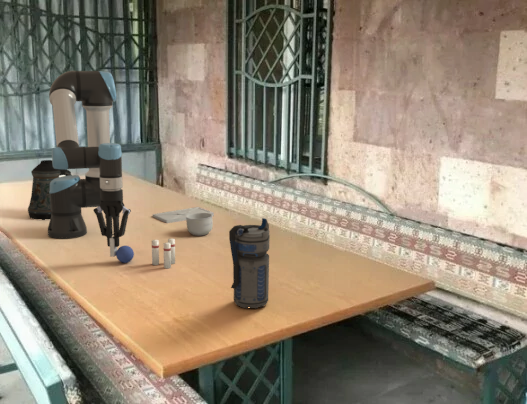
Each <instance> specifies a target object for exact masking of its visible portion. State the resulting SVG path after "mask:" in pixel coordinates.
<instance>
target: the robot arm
mask: <svg viewBox="0 0 527 404" xmlns="http://www.w3.org/2000/svg"><path fill="white" fill-rule="evenodd" d="M116 90H117V89H116V85H115V80H114V77H113V75H112V73H111V72H109V71H103V70H69V71H66V72H63V73H61V74H60V75H59V76H57V77H56V79H54V81H53V82H52V84H51V86H50V88H49V94H48V95H49V96H48V97H49V103H50V105H51V106H52V109H53V120H54V132H55V140H56V141H55V142H56V147H53V148H52V149H51V160H52V164H53V168H54V169H65V170H80V169H88V170H87V172H86V173H85V175H84V176H85V177H84V178H81V177H80V176H79V175H76V174H73V175H72V174H71V175H69V176H65V175H62V176H59V178H56V179H53V180H52V181H51V182H50V191H49V193H50V200H51V219H50V220H49V224H48V226H47V236H48V237H49V238H52V239H74V238H79V237H83V236H84V235H87V233H88V229H87V225H86V222H85V220H84V217H83V215H82V208H83V209H84V208H86V209H87V208H93V213H94V214H95V216H96V219H97V224H98V226H99V229H100V234H101V236H102V237H106V238H107V239H106V240H107V241H106V242H107V245H106V246H107V247H109V255H110V256H109V257H112V258H113V257H117V256H116V252H117V250H118V248H119V246H120V238H121V237H123V236H125V234H126V228H127V223H128V220H129V215H130V214H131V212H132V210H131V208H127V207H126V206H125V204H124V190H123V189H122V188H123V186H124V185H123V169H122V168H123V167H122V166H123V165H122V161H123V160H122V159H123V158H122V156H123V152H122V145H121V144H120V143H115V142H111V138H110V136H111V135H110V109H112V107H114V106H113V103H114V102H116V101H117V91H116ZM76 102H81V105H82V107H83V109H85V111H86V131H87V132H86V134H87V146H80V143H79V142H80V141H79V136H78V135H79V133H78V125H77V118H76V109H75V104H76ZM121 212H122V217H121V220H120V215H121ZM103 213H104V215H103ZM104 217H105V218H104Z"/></svg>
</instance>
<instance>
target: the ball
mask: <svg viewBox="0 0 527 404" xmlns="http://www.w3.org/2000/svg"><path fill="white" fill-rule="evenodd" d="M134 256H135V253H134V249H133V248H132V247H131V246H129V245H121V246H120V247H118V248H117V252H116V256H115V257H116V259H117V261H119V262H120V263H124V264H126V263H129V262H131V261H132V260H133V258H134Z"/></svg>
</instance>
